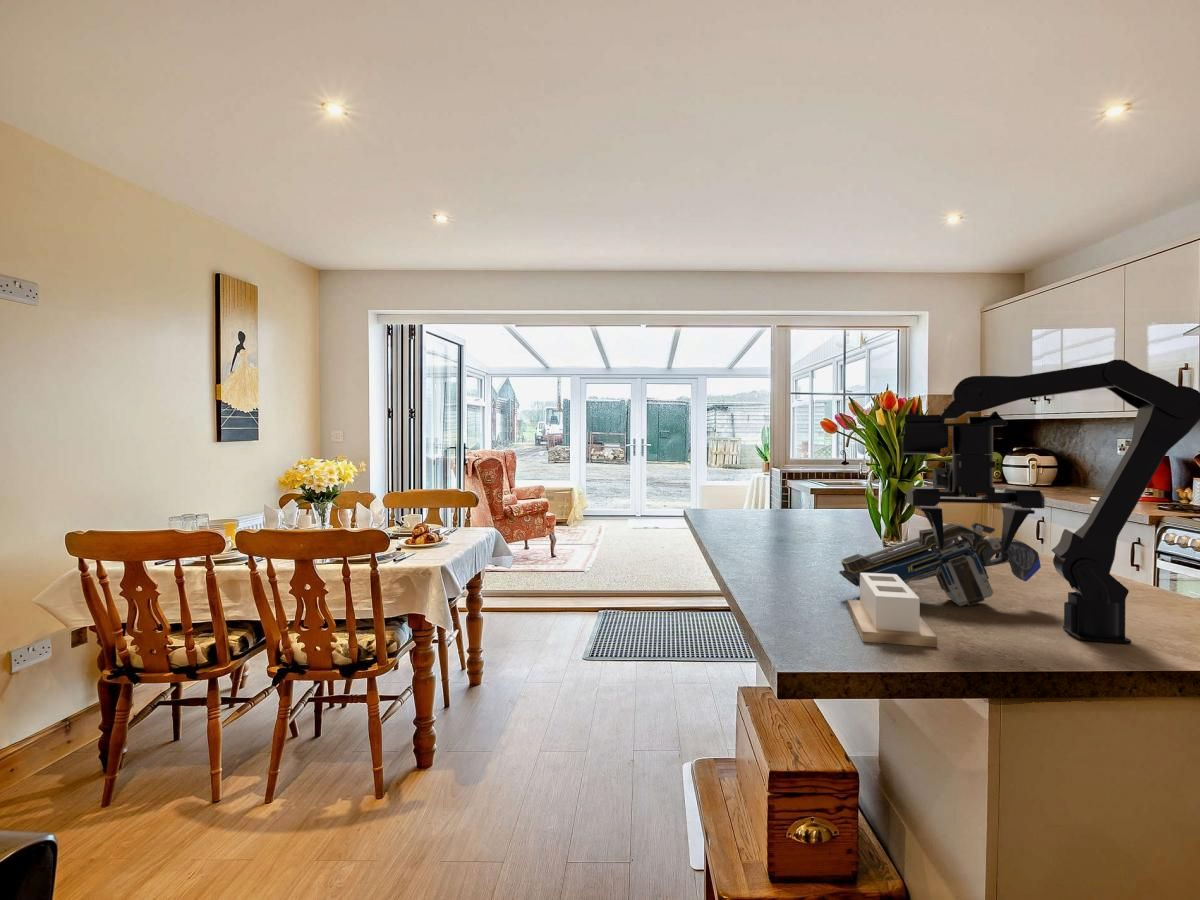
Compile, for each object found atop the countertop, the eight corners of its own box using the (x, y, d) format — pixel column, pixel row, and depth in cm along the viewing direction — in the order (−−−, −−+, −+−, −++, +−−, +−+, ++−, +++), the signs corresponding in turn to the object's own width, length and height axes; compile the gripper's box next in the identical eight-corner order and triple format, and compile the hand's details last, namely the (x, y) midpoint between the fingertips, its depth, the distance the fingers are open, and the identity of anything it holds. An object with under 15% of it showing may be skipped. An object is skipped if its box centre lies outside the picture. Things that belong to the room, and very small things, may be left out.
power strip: (859, 600, 113) (859, 572, 113) (896, 602, 111) (896, 574, 111) (875, 629, 96) (875, 596, 96) (919, 632, 94) (919, 598, 94)
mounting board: (908, 611, 111) (908, 582, 111) (936, 646, 92) (936, 611, 92) (847, 607, 114) (847, 579, 114) (862, 641, 95) (862, 607, 94)
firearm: (1056, 581, 110) (1020, 500, 111) (869, 640, 117) (836, 564, 118) (1035, 572, 118) (1002, 496, 119) (861, 628, 125) (830, 556, 126)
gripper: (1019, 453, 109) (1018, 544, 109) (900, 453, 114) (900, 540, 114) (1046, 455, 98) (1045, 556, 98) (913, 454, 103) (913, 551, 103)
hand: (972, 550), depth 104 cm, fingers open, 9 cm apart
